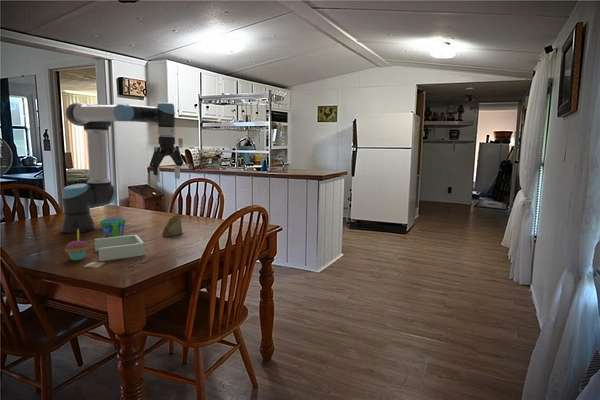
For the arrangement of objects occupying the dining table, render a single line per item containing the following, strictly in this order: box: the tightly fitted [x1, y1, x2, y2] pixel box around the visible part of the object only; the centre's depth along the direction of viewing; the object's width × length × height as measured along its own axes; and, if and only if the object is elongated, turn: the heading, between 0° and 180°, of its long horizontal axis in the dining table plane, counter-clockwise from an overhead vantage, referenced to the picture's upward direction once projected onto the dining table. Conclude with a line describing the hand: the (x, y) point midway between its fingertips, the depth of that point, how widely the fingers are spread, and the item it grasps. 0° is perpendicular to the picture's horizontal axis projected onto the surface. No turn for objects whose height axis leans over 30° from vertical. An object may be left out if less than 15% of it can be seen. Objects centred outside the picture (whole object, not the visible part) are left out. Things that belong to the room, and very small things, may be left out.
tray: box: [93, 234, 146, 262], centre depth 165 cm, size 17×17×5 cm
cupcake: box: [64, 230, 90, 261], centre depth 156 cm, size 9×8×12 cm
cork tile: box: [83, 261, 106, 269], centre depth 148 cm, size 5×5×1 cm
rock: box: [161, 214, 183, 237], centre depth 197 cm, size 11×9×10 cm
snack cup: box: [99, 217, 127, 238], centre depth 182 cm, size 16×11×10 cm
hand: (167, 180), depth 193 cm, fingers open, 13 cm apart
